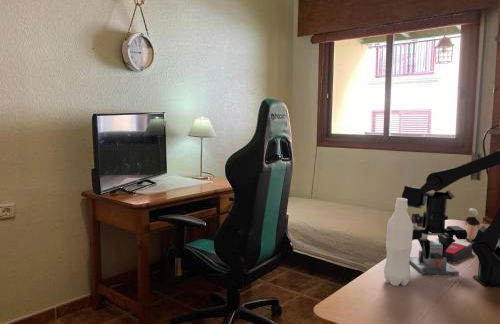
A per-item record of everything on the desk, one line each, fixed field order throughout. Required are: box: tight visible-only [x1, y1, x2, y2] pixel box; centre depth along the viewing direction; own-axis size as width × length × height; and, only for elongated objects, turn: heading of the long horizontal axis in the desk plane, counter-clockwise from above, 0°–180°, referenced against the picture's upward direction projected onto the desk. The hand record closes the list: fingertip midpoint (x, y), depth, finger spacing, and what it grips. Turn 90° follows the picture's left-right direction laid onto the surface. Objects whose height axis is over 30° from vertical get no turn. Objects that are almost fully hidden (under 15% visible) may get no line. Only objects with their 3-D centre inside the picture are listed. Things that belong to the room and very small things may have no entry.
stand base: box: [409, 249, 460, 276], centre depth 131 cm, size 12×11×5 cm
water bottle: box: [383, 197, 414, 287], centre depth 118 cm, size 7×7×25 cm
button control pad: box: [433, 238, 473, 264], centre depth 144 cm, size 11×4×15 cm
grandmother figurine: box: [464, 207, 482, 242], centre depth 159 cm, size 8×4×13 cm, turn 25°
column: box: [423, 240, 443, 266], centre depth 130 cm, size 4×4×7 cm
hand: (432, 258), depth 131 cm, fingers closed on column, 4 cm apart
